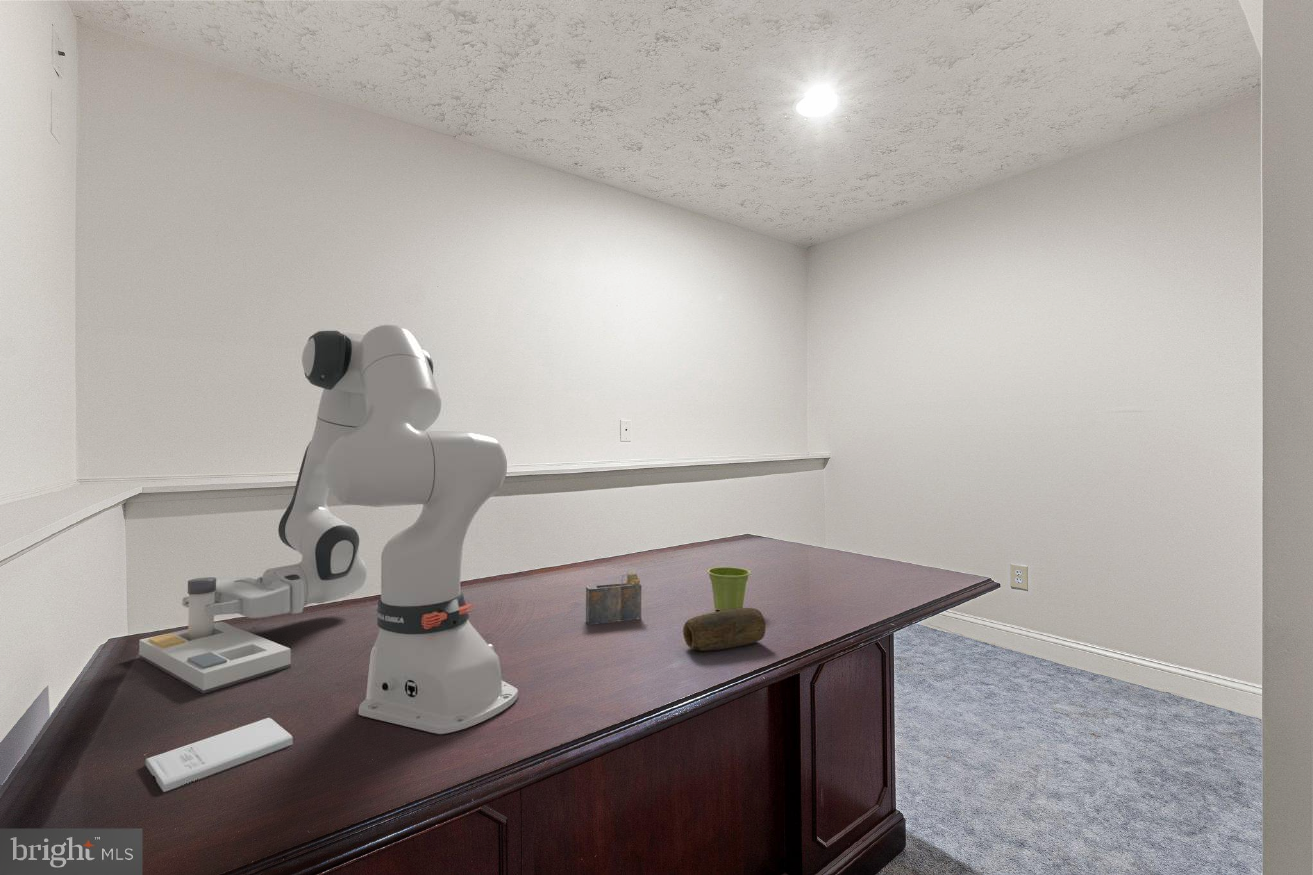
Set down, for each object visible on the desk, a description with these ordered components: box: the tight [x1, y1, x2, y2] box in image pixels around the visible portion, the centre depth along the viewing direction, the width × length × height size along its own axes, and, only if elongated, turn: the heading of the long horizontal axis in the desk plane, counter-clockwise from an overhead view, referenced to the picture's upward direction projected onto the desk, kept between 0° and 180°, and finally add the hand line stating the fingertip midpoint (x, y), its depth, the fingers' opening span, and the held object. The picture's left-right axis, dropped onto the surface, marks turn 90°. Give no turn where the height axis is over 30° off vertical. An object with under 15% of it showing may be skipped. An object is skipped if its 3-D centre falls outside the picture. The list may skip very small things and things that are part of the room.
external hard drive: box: [145, 717, 294, 793], centre depth 69 cm, size 2×8×12 cm
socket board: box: [138, 621, 292, 694], centre depth 97 cm, size 26×12×3 cm, turn 58°
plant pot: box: [707, 566, 751, 612], centre depth 129 cm, size 9×9×9 cm
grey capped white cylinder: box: [187, 576, 217, 641], centre depth 102 cm, size 4×4×12 cm
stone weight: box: [682, 607, 766, 652], centre depth 106 cm, size 15×7×7 cm, turn 116°
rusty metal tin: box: [585, 571, 642, 625], centre depth 122 cm, size 11×3×10 cm, turn 110°
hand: (194, 606), depth 102 cm, fingers open, 8 cm apart
